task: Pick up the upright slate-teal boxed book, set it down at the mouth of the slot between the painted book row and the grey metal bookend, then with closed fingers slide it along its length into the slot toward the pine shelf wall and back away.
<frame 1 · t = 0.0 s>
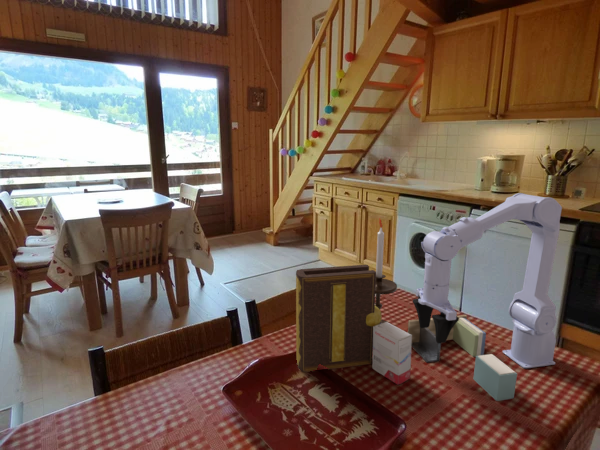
hand: (432, 334, 91), 10 cm above the table, fingers open, 7 cm apart
bookend: (428, 351, 102), on the table
ink box: (390, 374, 92), on the table
shelf wall: (436, 340, 108), on the table
candlestick: (376, 328, 115), on the table
book: (338, 361, 98), on the table
boxed book: (492, 388, 86), on the table
book row: (467, 347, 104), on the table
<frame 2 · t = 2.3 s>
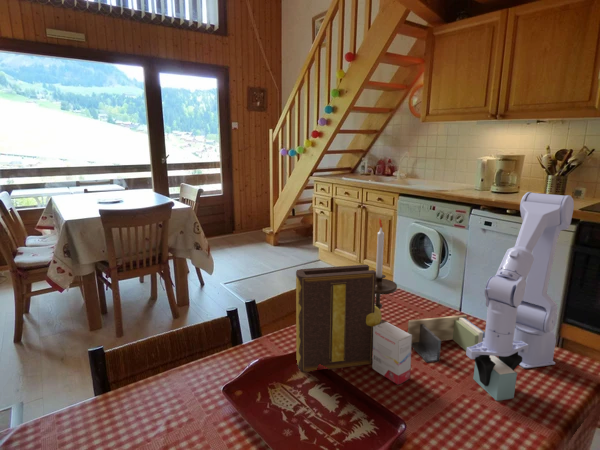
hand: (493, 382, 86), 2 cm above the table, fingers closed on boxed book, 4 cm apart
boxed book: (492, 388, 86), on the table, touching gripper
everything else where it was.
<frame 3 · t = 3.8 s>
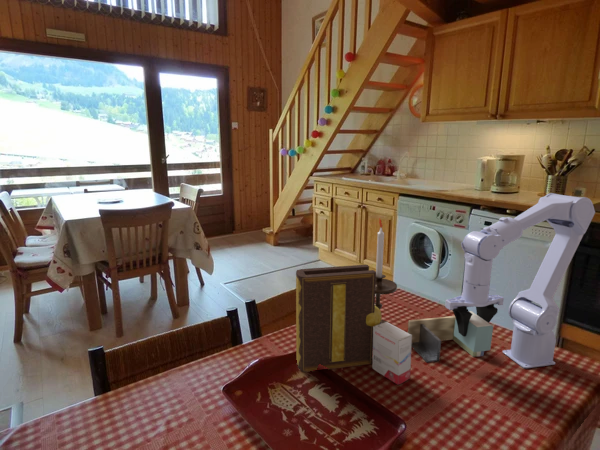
hand: (471, 333, 92), 10 cm above the table, fingers closed on boxed book, 4 cm apart
boxed book: (471, 342, 92), point 8 cm above the table, touching gripper
everything else where it was.
when the fingers open (3 cm above the table, at t = 5.5 s): boxed book stays where it is, on the table.
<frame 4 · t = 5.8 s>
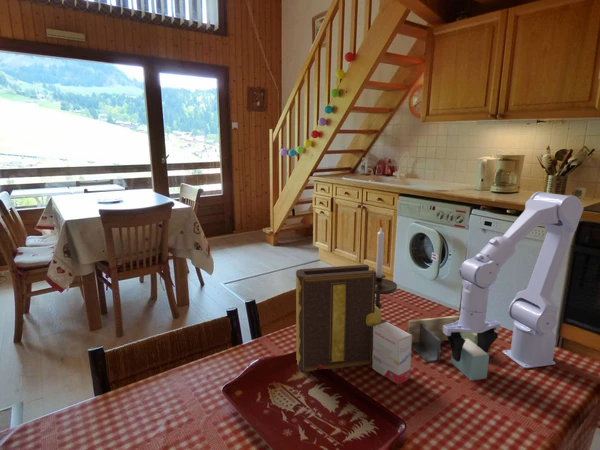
hand: (468, 357, 93), 3 cm above the table, fingers open, 6 cm apart
boxed book: (468, 370, 94), on the table
everything else where it was.
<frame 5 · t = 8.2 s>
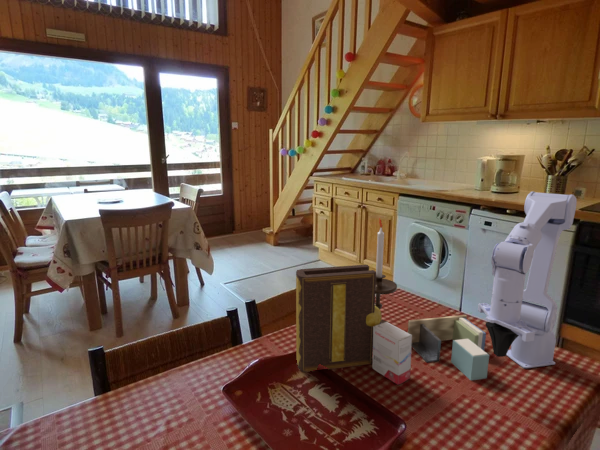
hand: (499, 354, 82), 10 cm above the table, fingers closed
nothing on the table moved.
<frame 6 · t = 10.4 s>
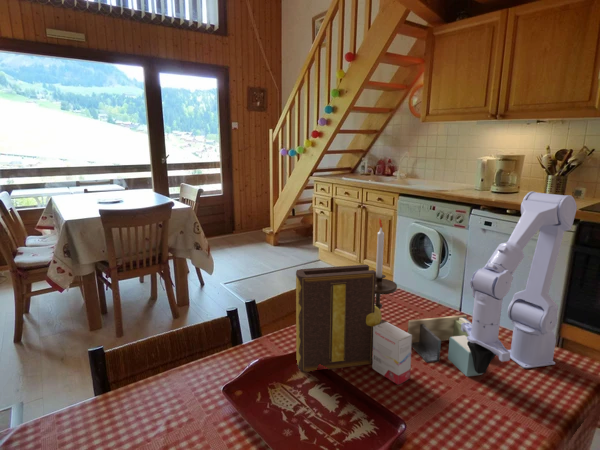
hand: (480, 371, 89), 2 cm above the table, fingers closed
boxed book: (464, 366, 95), on the table, touching gripper
everything else where it was.
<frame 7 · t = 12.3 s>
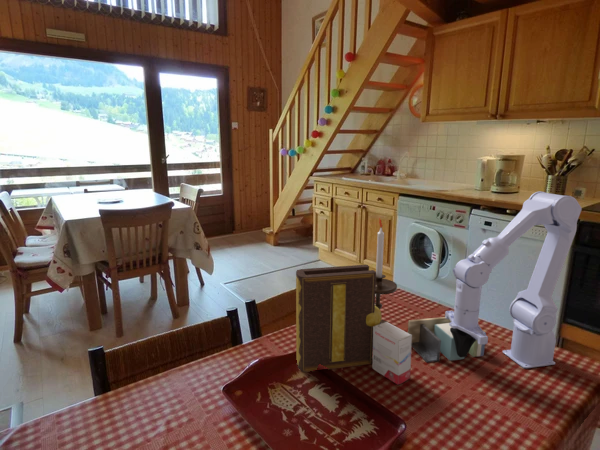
hand: (462, 355, 96), 2 cm above the table, fingers closed
boxed book: (448, 351, 102), on the table, touching gripper
everything else where it was.
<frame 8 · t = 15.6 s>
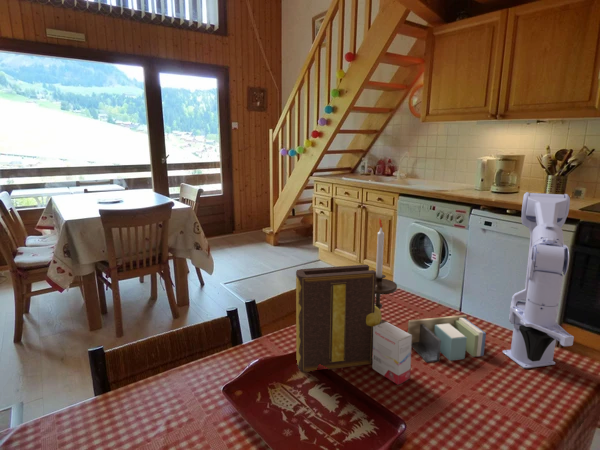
hand: (533, 359, 81), 10 cm above the table, fingers closed
boxed book: (448, 352, 102), on the table
everything else where it was.
at the end: boxed book inside the target area (0.5 cm from its centre), on the table; boxed book tilted 0°; the gripper is holding nothing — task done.
